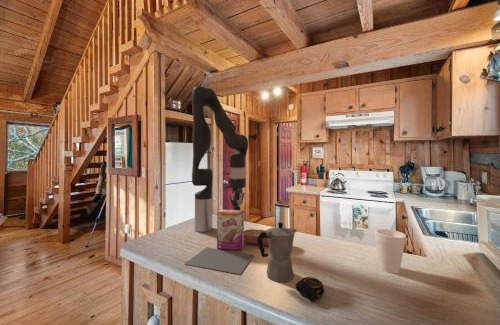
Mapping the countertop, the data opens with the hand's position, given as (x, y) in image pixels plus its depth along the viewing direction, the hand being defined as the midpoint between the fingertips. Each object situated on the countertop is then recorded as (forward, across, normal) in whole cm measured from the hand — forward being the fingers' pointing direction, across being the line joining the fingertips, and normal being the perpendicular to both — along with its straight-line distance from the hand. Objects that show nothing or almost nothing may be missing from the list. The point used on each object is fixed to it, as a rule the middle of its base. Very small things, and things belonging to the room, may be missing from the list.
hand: (237, 214), depth 106 cm
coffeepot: (+13, +24, +24) cm, 36 cm away
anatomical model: (+14, -1, +14) cm, 19 cm away
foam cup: (+13, +6, +61) cm, 63 cm away
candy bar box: (+13, +8, 0) cm, 15 cm away
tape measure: (+14, +31, +35) cm, 49 cm away
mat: (+13, +19, +1) cm, 23 cm away
